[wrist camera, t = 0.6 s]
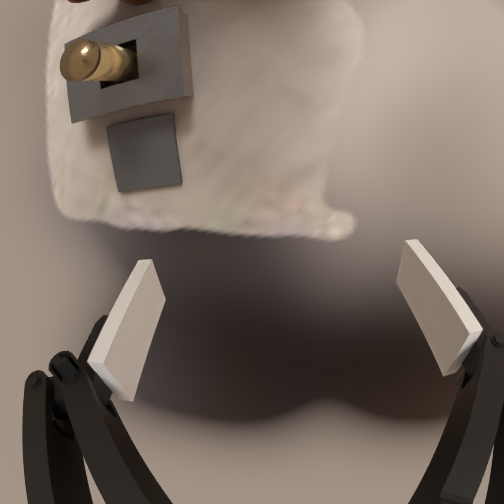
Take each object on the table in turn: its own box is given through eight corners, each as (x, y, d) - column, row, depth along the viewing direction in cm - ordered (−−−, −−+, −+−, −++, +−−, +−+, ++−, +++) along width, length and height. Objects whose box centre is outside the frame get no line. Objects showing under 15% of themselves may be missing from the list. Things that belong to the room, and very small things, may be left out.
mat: (108, 126, 34) (106, 127, 33) (173, 113, 33) (171, 113, 33) (120, 190, 39) (118, 192, 38) (182, 182, 39) (181, 184, 38)
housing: (83, 46, 27) (64, 43, 22) (187, 15, 26) (177, 5, 22) (90, 118, 33) (71, 123, 29) (193, 95, 32) (184, 95, 28)
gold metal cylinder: (118, 56, 28) (59, 48, 16) (147, 48, 28) (95, 32, 16) (120, 84, 31) (61, 87, 19) (149, 77, 30) (97, 73, 19)
